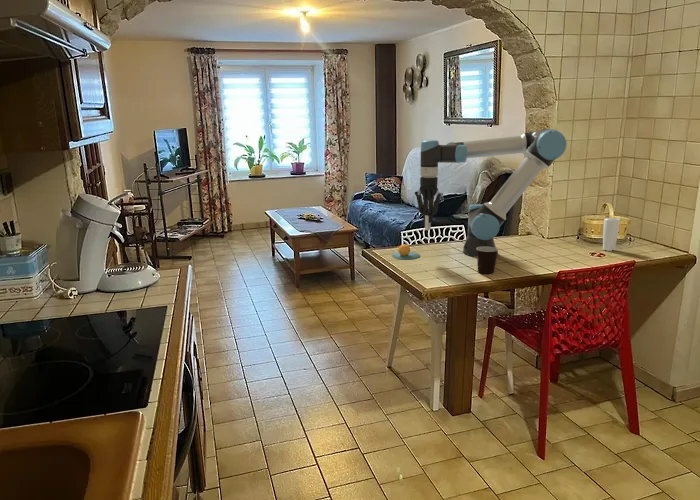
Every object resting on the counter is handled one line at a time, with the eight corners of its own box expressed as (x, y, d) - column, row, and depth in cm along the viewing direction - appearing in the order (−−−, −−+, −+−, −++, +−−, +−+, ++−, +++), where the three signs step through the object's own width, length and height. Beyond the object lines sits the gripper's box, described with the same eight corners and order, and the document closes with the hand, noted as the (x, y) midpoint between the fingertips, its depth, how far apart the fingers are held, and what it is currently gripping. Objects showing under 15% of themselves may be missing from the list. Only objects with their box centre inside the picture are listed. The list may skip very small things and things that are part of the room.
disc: (425, 254, 246) (425, 254, 246) (411, 261, 235) (411, 260, 235) (400, 250, 253) (400, 250, 253) (386, 257, 243) (386, 256, 243)
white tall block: (617, 249, 249) (621, 218, 245) (615, 252, 244) (619, 221, 240) (601, 247, 253) (605, 217, 249) (599, 250, 247) (603, 219, 243)
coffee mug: (493, 276, 212) (494, 252, 209) (472, 273, 216) (473, 250, 214) (501, 269, 221) (502, 246, 219) (481, 266, 226) (482, 243, 223)
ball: (404, 256, 247) (414, 252, 244) (398, 258, 243) (408, 255, 240) (400, 245, 247) (409, 241, 244) (394, 247, 243) (403, 243, 240)
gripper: (411, 176, 229) (410, 229, 235) (438, 178, 222) (437, 232, 228) (419, 174, 235) (418, 226, 241) (446, 176, 228) (444, 229, 234)
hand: (427, 229), depth 234 cm, fingers closed
